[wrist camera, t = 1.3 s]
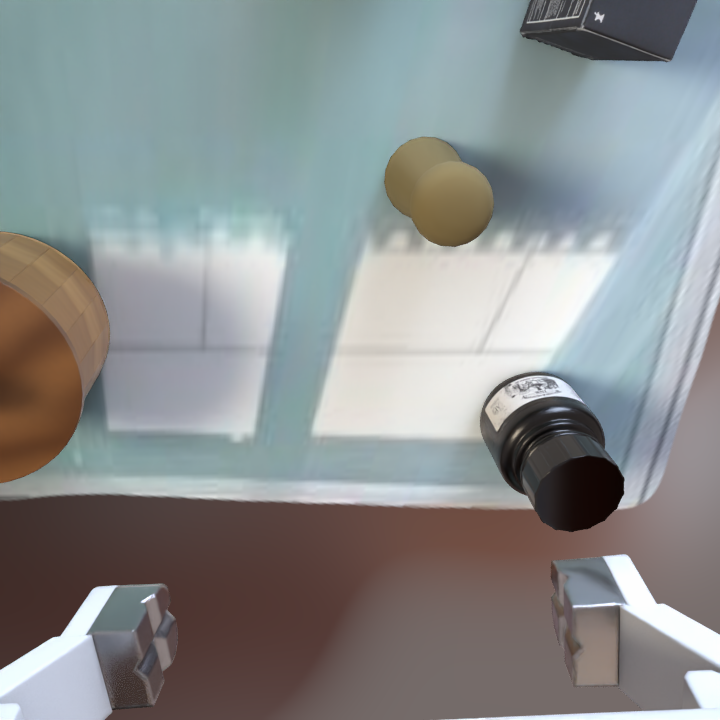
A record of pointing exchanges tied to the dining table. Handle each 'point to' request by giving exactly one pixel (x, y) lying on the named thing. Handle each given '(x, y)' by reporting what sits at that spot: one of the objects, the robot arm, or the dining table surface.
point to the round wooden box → (60, 296)
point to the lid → (34, 385)
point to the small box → (610, 27)
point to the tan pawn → (439, 191)
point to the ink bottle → (551, 450)
